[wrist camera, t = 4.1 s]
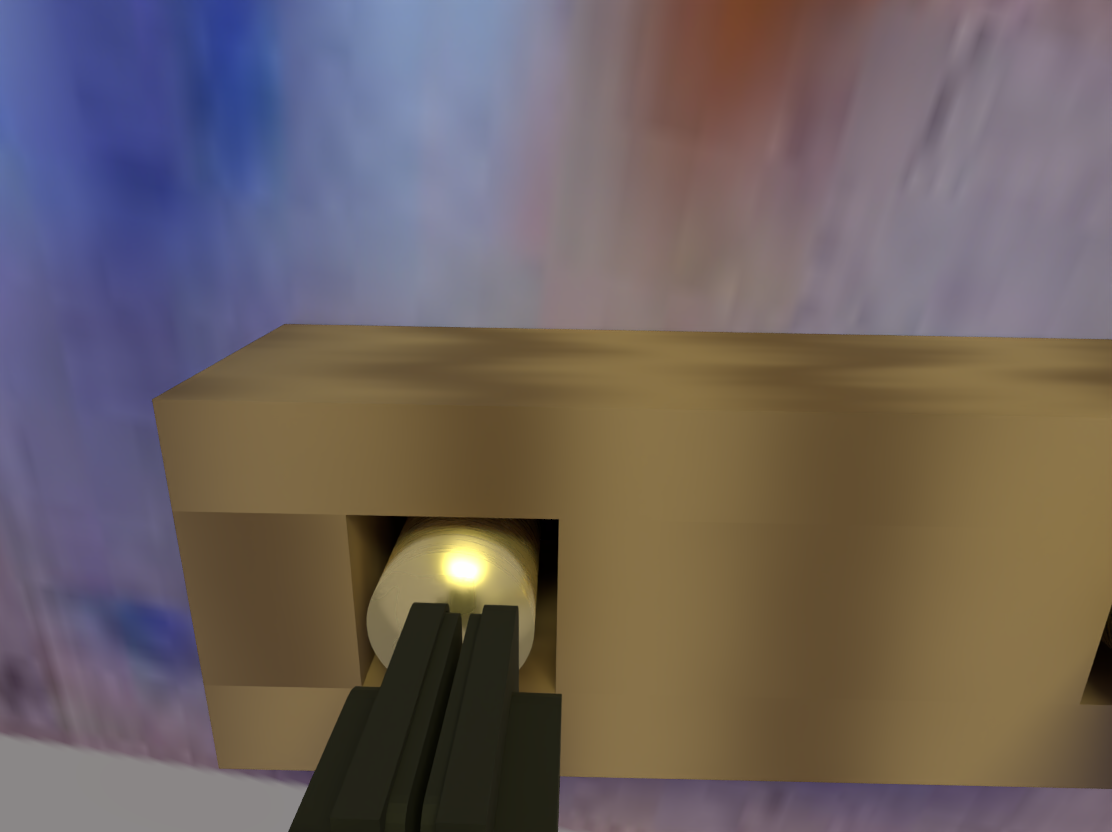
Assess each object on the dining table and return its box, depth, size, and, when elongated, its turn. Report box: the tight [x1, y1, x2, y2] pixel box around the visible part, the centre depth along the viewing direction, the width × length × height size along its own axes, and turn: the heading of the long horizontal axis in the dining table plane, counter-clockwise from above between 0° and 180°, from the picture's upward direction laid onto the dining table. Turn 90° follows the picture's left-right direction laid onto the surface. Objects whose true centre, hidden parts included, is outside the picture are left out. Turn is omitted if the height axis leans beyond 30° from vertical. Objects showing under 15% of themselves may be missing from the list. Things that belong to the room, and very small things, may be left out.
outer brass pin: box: [367, 516, 542, 669], centre depth 16 cm, size 3×3×6 cm
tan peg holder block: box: [152, 324, 1112, 789], centre depth 16 cm, size 24×8×6 cm, turn 89°
